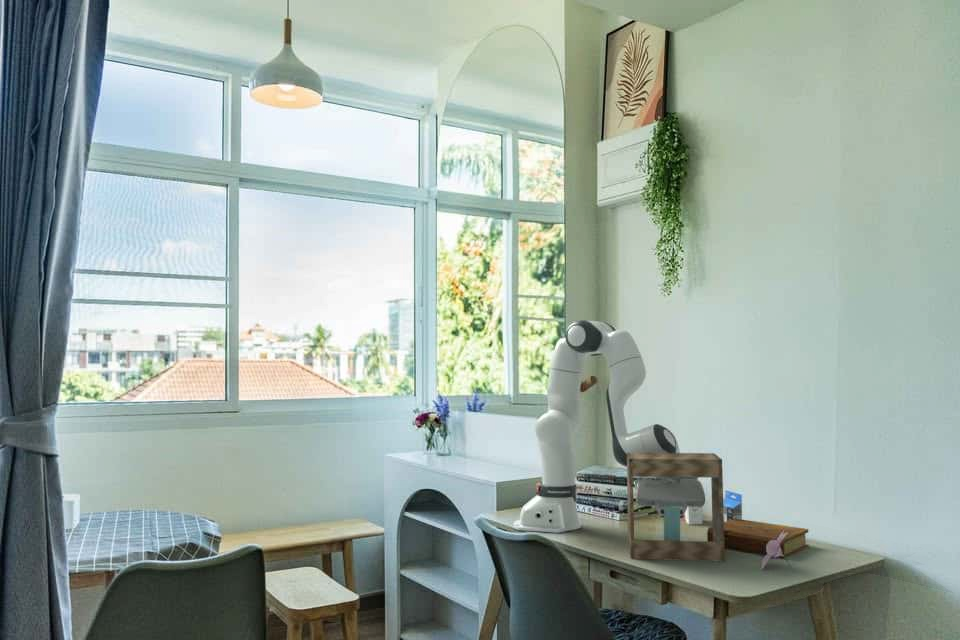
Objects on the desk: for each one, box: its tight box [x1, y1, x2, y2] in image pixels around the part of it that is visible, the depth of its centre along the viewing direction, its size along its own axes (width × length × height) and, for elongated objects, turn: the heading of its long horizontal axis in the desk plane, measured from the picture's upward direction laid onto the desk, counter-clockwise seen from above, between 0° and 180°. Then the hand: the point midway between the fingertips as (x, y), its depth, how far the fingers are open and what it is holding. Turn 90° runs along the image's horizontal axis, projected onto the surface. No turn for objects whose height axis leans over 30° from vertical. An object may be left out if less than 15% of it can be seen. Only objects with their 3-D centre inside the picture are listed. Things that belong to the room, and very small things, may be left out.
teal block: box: [663, 506, 681, 541], centre depth 224 cm, size 4×4×11 cm
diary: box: [706, 518, 810, 560], centre depth 228 cm, size 23×19×6 cm
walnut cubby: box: [626, 452, 726, 562], centre depth 221 cm, size 26×14×28 cm, turn 82°
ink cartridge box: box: [682, 506, 703, 525], centre depth 262 cm, size 9×5×15 cm, turn 179°
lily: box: [761, 531, 793, 570], centre depth 206 cm, size 12×12×10 cm
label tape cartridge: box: [723, 490, 743, 522], centre depth 249 cm, size 9×4×12 cm, turn 18°
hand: (672, 516), depth 225 cm, fingers closed on teal block, 4 cm apart
